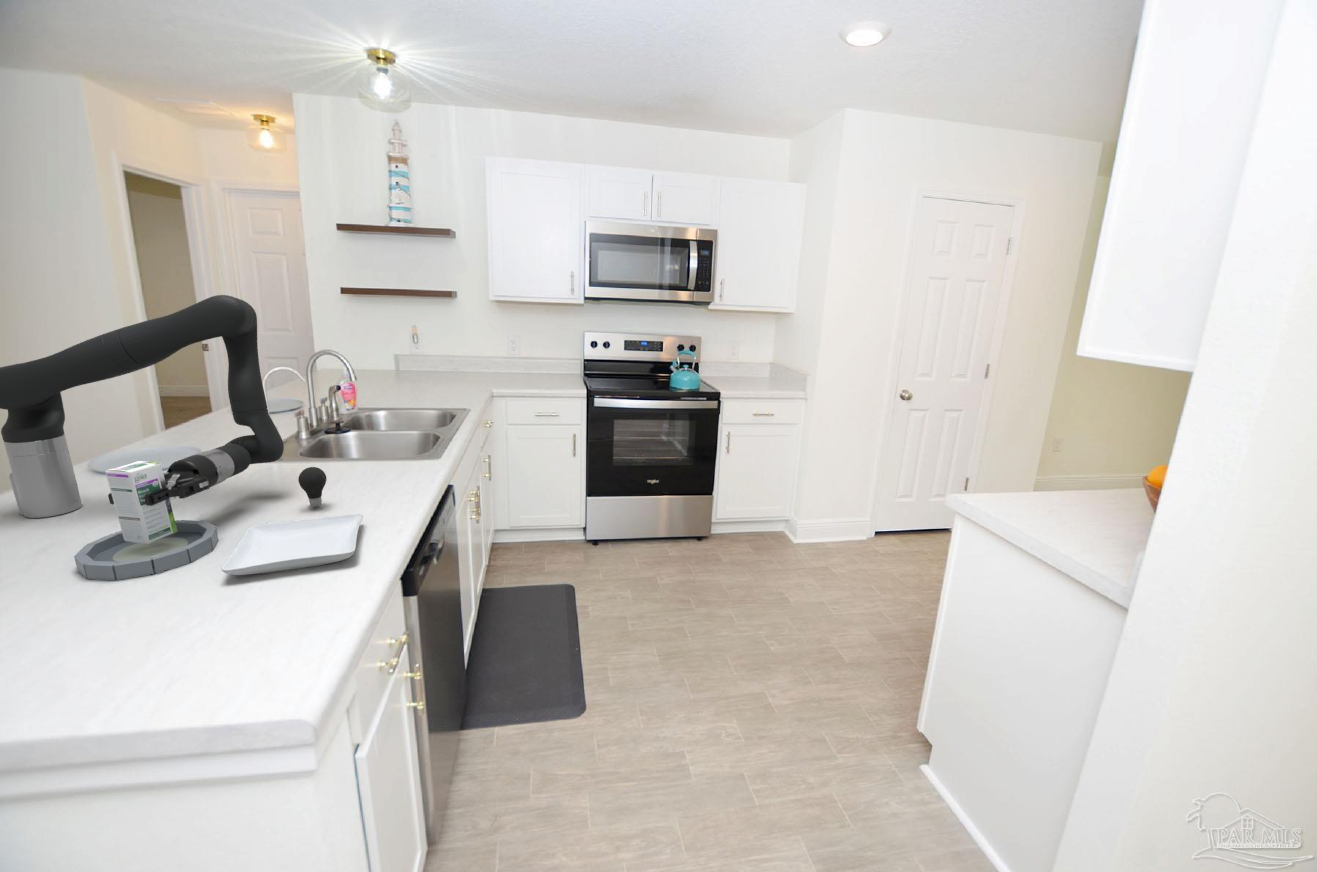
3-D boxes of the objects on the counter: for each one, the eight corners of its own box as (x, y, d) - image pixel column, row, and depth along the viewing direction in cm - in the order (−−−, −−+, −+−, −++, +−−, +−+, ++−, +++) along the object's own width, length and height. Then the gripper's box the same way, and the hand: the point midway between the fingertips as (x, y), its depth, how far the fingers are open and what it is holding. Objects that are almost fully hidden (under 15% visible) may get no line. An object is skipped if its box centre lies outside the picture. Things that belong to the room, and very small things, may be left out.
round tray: (47, 577, 101) (43, 562, 101) (149, 530, 121) (146, 518, 120) (156, 582, 101) (152, 567, 100) (241, 534, 120) (239, 522, 119)
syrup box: (148, 544, 107) (130, 471, 103) (122, 541, 108) (104, 469, 104) (178, 532, 112) (162, 462, 108) (153, 529, 113) (137, 459, 109)
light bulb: (301, 513, 132) (295, 472, 129) (303, 505, 136) (297, 465, 134) (329, 509, 134) (324, 469, 132) (330, 501, 139) (325, 462, 136)
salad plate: (251, 539, 119) (248, 523, 118) (364, 525, 127) (363, 510, 126) (221, 587, 100) (218, 570, 99) (357, 567, 108) (355, 551, 107)
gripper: (166, 453, 121) (86, 480, 105) (232, 455, 120) (162, 482, 104) (173, 486, 123) (96, 517, 107) (238, 488, 122) (170, 520, 106)
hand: (129, 500), depth 105 cm, fingers closed on syrup box, 6 cm apart
